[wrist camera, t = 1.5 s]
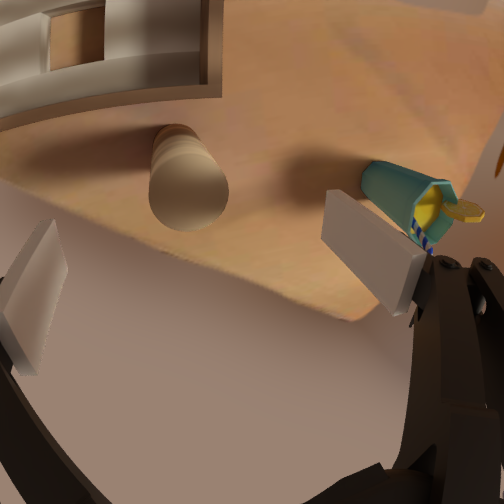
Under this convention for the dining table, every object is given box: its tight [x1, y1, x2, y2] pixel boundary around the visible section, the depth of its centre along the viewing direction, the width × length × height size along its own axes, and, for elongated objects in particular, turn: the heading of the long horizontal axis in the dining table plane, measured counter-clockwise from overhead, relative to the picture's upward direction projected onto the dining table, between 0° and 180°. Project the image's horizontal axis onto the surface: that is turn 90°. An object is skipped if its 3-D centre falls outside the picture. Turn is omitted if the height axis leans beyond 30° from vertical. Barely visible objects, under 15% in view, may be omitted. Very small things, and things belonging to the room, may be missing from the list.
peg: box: [149, 124, 229, 232], centre depth 23 cm, size 4×4×14 cm
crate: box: [0, 0, 224, 132], centre depth 17 cm, size 14×24×8 cm, turn 89°
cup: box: [361, 161, 485, 255], centre depth 31 cm, size 14×8×15 cm, turn 113°
